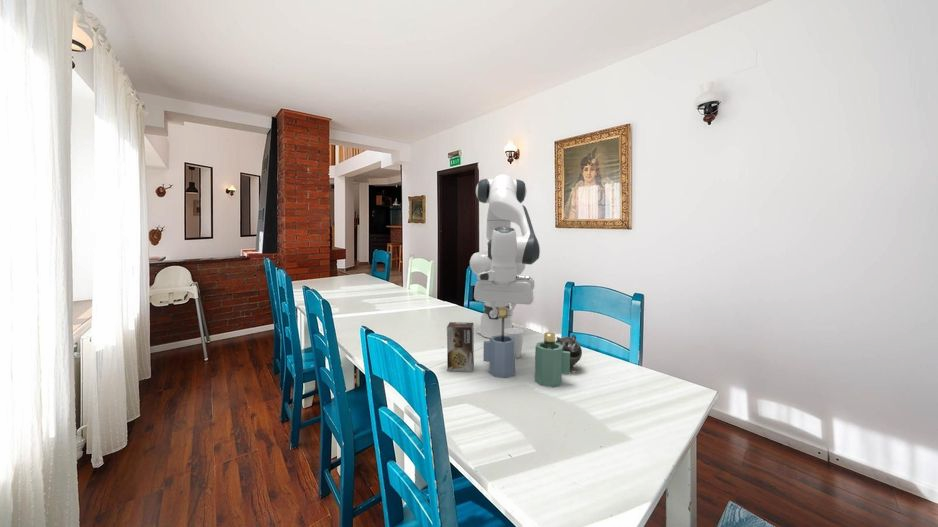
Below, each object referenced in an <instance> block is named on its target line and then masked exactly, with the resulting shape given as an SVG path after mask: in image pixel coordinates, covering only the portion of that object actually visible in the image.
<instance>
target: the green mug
mask: <svg viewBox="0 0 938 527" xmlns="http://www.w3.org/2000/svg"><path fill="white" fill-rule="evenodd" d="M534 360H535V362H534V383H536V384H538V385H539V386H542V387H548V388H554V387H559V386H561V385H562V381H563V375H570V373H571V372H570V352H568V351H563V345H561V344H558V343H556V342H555V344H553V345H551V349H548V344H545V343H544V341H539V342H536V345H535V357H534Z"/></svg>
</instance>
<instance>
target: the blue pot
mask: <svg viewBox="0 0 938 527" xmlns="http://www.w3.org/2000/svg"><path fill="white" fill-rule="evenodd" d="M515 353H516V339H515V338H513V337H511V336H505V335H504V342H501V335H498V336H492V337H491V338H489V340H484V341H483V362H486V363H489V364H488V366H489V368H488V373H489V374H490V376H491V375H492V376H493V377H496V378H502V379H505V378H506V379H507V378H510V377H514V375H515V373H516V358H515Z"/></svg>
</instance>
